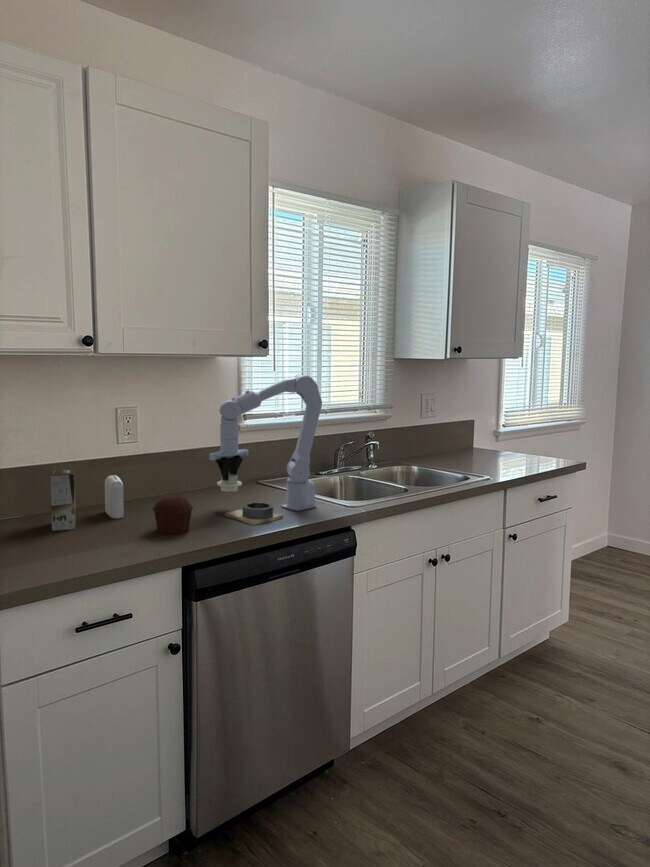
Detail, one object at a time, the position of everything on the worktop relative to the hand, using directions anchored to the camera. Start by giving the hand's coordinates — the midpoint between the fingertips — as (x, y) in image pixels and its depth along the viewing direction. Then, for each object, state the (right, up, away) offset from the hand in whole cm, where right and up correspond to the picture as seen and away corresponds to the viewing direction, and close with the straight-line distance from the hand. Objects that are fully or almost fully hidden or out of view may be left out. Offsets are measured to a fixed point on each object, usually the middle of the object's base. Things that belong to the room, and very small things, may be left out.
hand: (229, 479), depth 214 cm
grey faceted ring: (+10, -11, -9) cm, 18 cm away
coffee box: (-45, -12, -23) cm, 51 cm away
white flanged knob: (0, -3, 0) cm, 3 cm away
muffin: (-13, -13, -24) cm, 30 cm away
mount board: (+9, -11, -7) cm, 16 cm away
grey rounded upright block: (-34, -11, -9) cm, 37 cm away
